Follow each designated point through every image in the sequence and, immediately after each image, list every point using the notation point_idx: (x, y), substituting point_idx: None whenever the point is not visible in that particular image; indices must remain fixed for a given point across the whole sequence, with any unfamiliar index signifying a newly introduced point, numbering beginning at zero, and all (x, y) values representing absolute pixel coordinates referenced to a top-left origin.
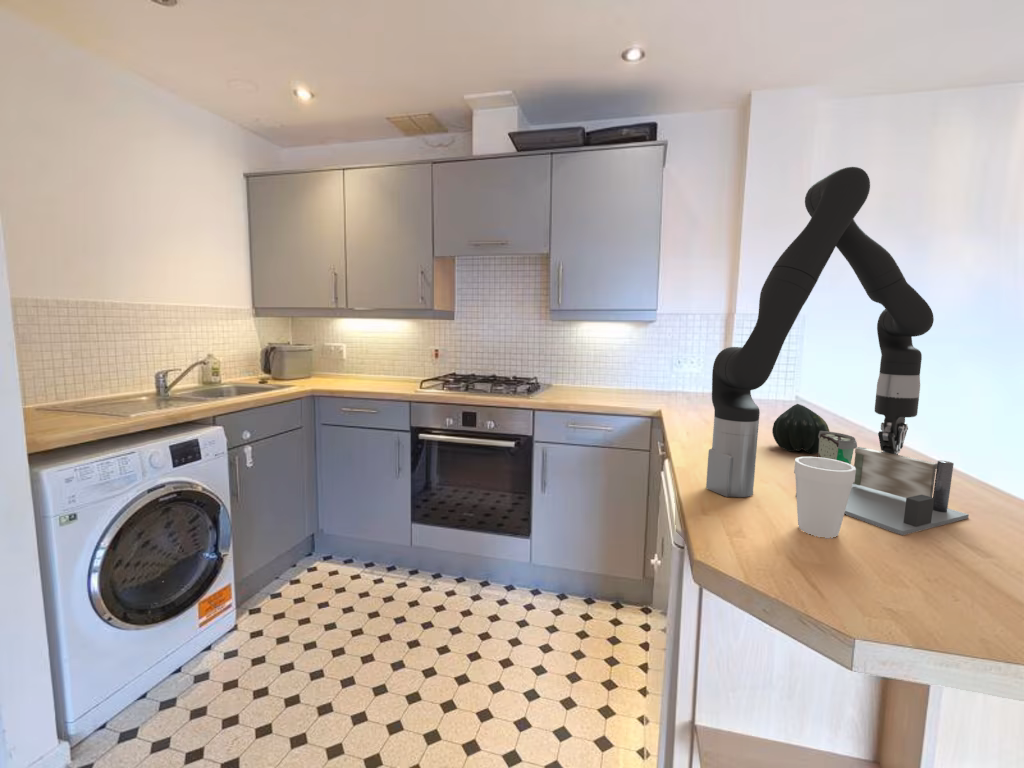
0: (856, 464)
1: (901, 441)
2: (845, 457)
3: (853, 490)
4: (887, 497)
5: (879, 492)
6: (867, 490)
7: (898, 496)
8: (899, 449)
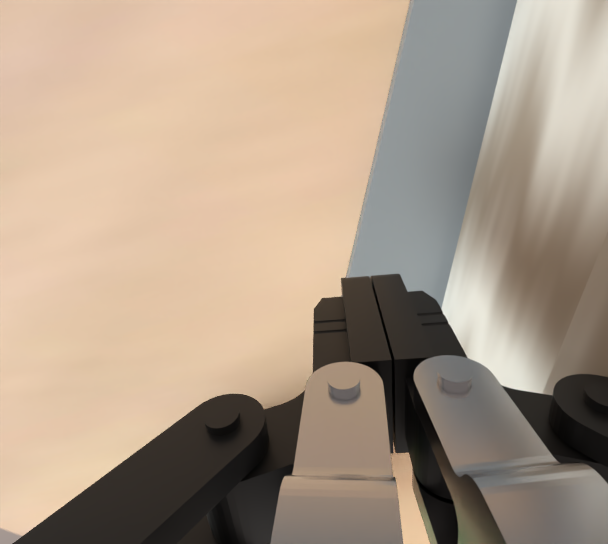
0: None
1: (488, 504)
2: None
3: None
4: None
5: (444, 246)
6: None
7: (437, 156)
8: (355, 392)
